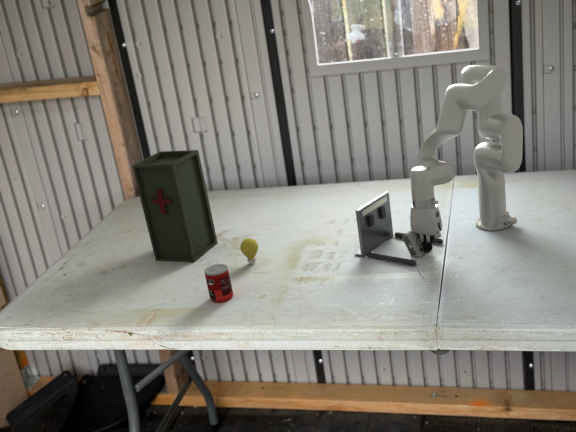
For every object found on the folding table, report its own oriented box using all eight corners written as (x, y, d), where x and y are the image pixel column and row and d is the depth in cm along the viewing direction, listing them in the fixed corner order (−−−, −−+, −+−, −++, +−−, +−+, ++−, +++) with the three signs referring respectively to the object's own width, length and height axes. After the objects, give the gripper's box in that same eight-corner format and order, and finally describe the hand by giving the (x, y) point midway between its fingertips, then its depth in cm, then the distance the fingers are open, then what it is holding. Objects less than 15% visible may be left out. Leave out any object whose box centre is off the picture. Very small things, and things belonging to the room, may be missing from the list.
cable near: (417, 265, 224) (417, 259, 224) (414, 267, 223) (414, 262, 222) (368, 256, 237) (368, 250, 237) (365, 258, 236) (365, 253, 235)
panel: (395, 236, 250) (390, 191, 244) (366, 257, 236) (360, 211, 230) (384, 234, 253) (379, 190, 247) (354, 255, 240) (348, 209, 233)
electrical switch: (419, 258, 228) (412, 233, 226) (407, 259, 232) (399, 234, 230) (432, 247, 235) (425, 223, 233) (419, 248, 238) (412, 224, 236)
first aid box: (217, 243, 272) (198, 150, 258) (194, 262, 257) (172, 164, 243) (180, 241, 280) (159, 151, 266) (155, 260, 265) (132, 165, 251)
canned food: (210, 294, 228) (204, 266, 224) (233, 290, 228) (227, 262, 224) (210, 305, 221) (203, 275, 217) (233, 300, 221) (227, 271, 217)
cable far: (444, 243, 237) (443, 238, 237) (441, 245, 236) (441, 240, 235) (396, 235, 250) (395, 231, 250) (393, 237, 249) (393, 233, 248)
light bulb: (263, 259, 249) (259, 235, 245) (257, 267, 243) (252, 242, 240) (247, 259, 251) (242, 235, 248) (240, 267, 245) (236, 242, 242)
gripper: (448, 200, 222) (452, 250, 228) (409, 196, 231) (414, 244, 237) (438, 208, 216) (442, 259, 223) (398, 203, 226) (403, 252, 232)
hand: (427, 251), depth 230 cm, fingers closed
